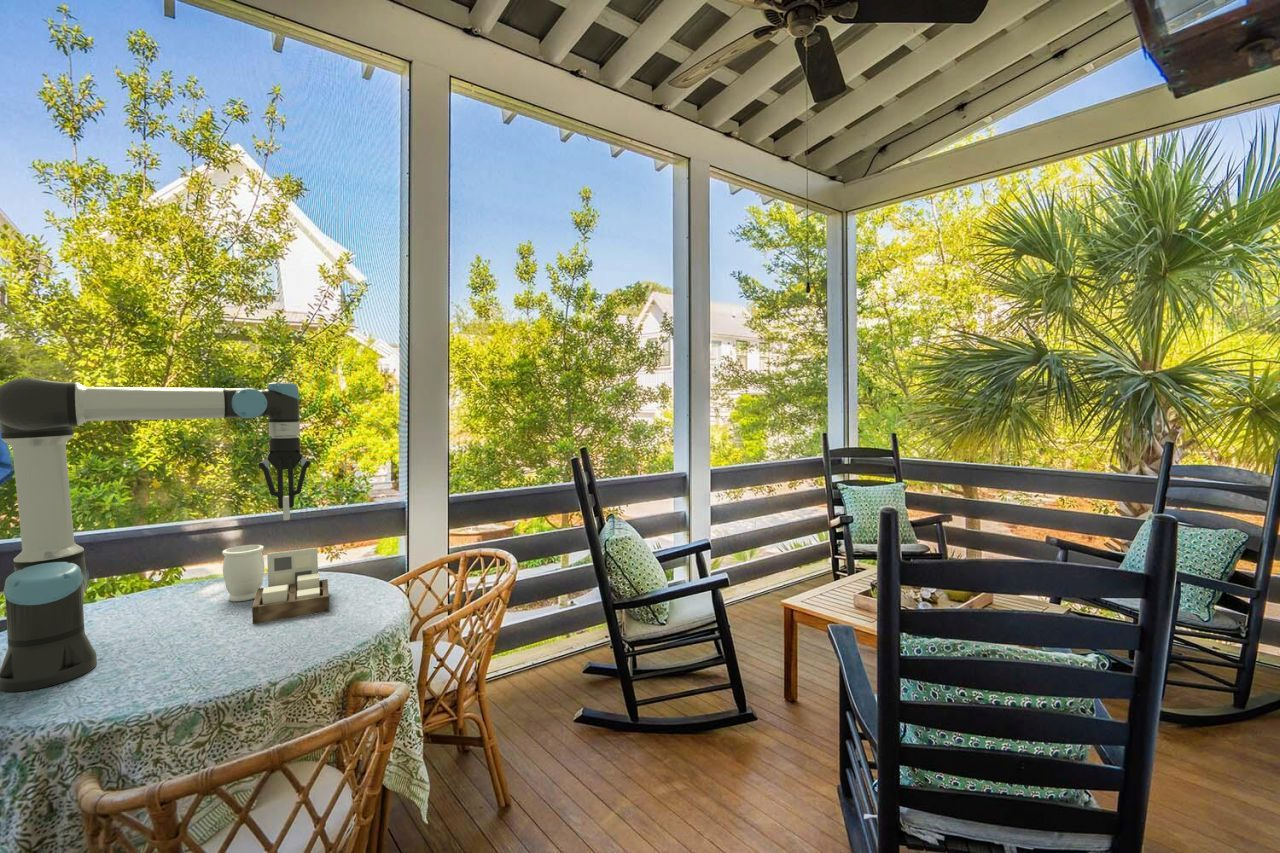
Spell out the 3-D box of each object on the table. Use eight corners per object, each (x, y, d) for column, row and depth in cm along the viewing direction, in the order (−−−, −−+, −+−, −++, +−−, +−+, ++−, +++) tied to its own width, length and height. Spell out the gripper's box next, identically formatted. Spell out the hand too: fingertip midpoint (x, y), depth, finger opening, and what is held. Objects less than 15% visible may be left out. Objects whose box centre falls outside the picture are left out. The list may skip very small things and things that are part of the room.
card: (268, 600, 173) (267, 554, 172) (269, 599, 174) (267, 553, 173) (318, 593, 179) (317, 548, 179) (318, 592, 180) (317, 547, 180)
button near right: (297, 610, 162) (296, 596, 162) (297, 604, 167) (297, 590, 166) (320, 606, 164) (319, 592, 164) (320, 600, 169) (319, 587, 169)
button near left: (262, 608, 158) (262, 593, 158) (264, 601, 163) (263, 587, 162) (286, 604, 160) (286, 590, 160) (287, 598, 165) (287, 584, 165)
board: (252, 623, 155) (252, 607, 155) (258, 603, 171) (257, 588, 170) (329, 611, 164) (328, 596, 163) (327, 593, 179) (327, 579, 179)
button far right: (297, 594, 169) (297, 580, 168) (298, 589, 173) (297, 575, 173) (319, 591, 171) (319, 577, 171) (319, 586, 176) (319, 573, 176)
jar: (272, 595, 178) (270, 547, 177) (234, 605, 169) (232, 554, 168) (255, 589, 183) (253, 542, 183) (217, 599, 175) (215, 549, 174)
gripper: (255, 438, 159) (258, 523, 160) (310, 437, 165) (312, 519, 166) (258, 437, 166) (260, 519, 167) (311, 435, 172) (312, 514, 173)
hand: (286, 519), depth 166 cm, fingers closed
